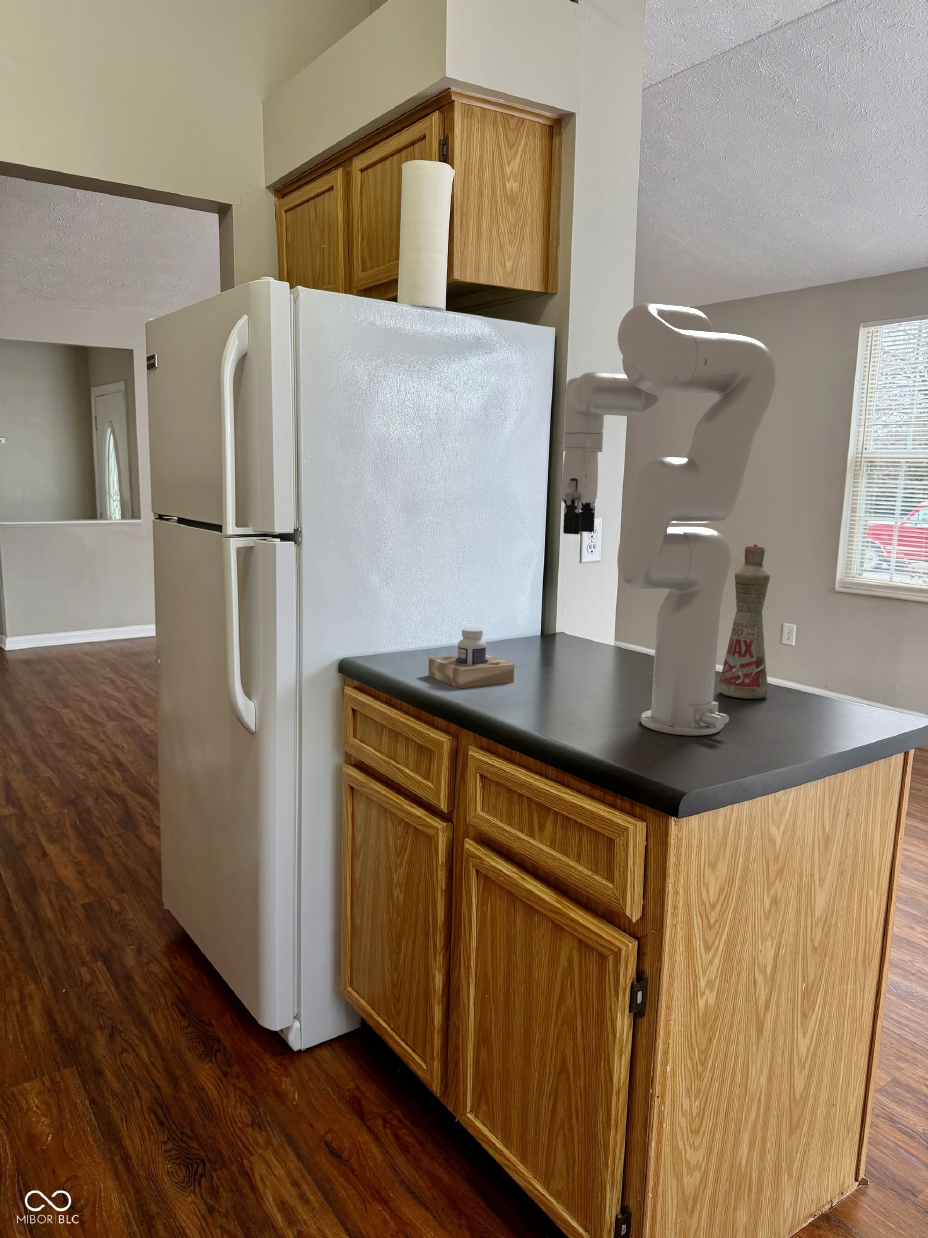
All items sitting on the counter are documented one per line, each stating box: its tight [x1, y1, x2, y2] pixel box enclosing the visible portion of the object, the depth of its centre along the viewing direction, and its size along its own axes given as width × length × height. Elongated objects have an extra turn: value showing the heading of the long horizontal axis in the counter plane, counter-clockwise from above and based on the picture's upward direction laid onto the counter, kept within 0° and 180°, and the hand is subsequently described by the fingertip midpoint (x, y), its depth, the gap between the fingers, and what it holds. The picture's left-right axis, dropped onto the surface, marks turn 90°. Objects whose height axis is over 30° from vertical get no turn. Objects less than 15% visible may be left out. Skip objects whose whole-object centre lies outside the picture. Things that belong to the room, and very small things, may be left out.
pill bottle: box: [457, 627, 487, 665], centre depth 170 cm, size 5×5×10 cm
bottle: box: [718, 543, 771, 700], centre depth 161 cm, size 9×9×28 cm
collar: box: [427, 654, 515, 689], centre depth 170 cm, size 12×12×4 cm
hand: (578, 532), depth 173 cm, fingers open, 9 cm apart
